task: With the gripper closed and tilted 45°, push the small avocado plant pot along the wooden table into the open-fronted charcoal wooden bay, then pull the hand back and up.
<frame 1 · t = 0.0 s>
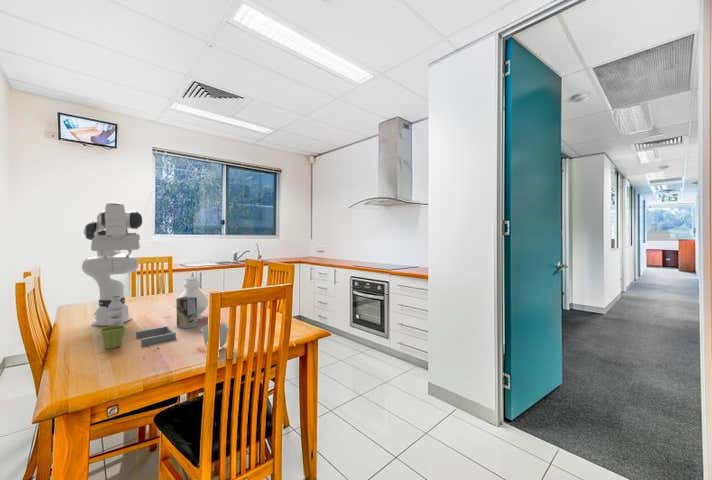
hand: (116, 259, 162), 39 cm above the table, tool pointing down, fingers open, 8 cm apart
coffee box: (186, 326, 175), on the table
decorative vase: (192, 318, 190), on the table
plant pot: (112, 347, 143), on the table
teacup: (214, 348, 143), on the table
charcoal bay: (155, 338, 155), on the table
plastic bottle: (116, 335, 159), on the table
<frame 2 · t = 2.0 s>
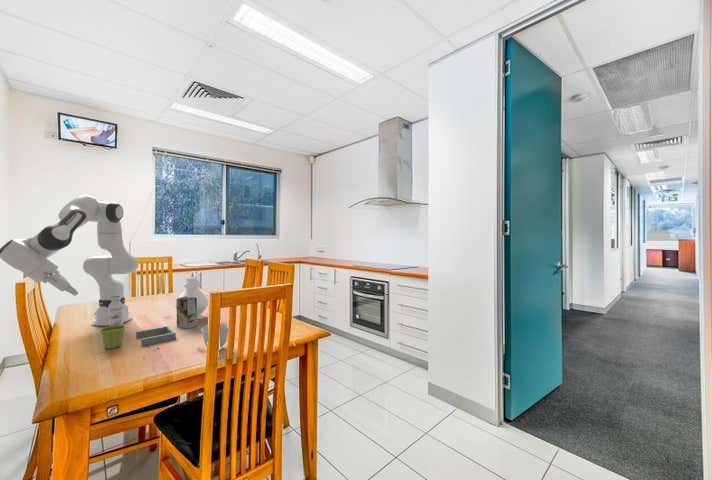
hand: (76, 293, 136), 26 cm above the table, tool tilted 45°, fingers open, 8 cm apart
nothing on the table moved.
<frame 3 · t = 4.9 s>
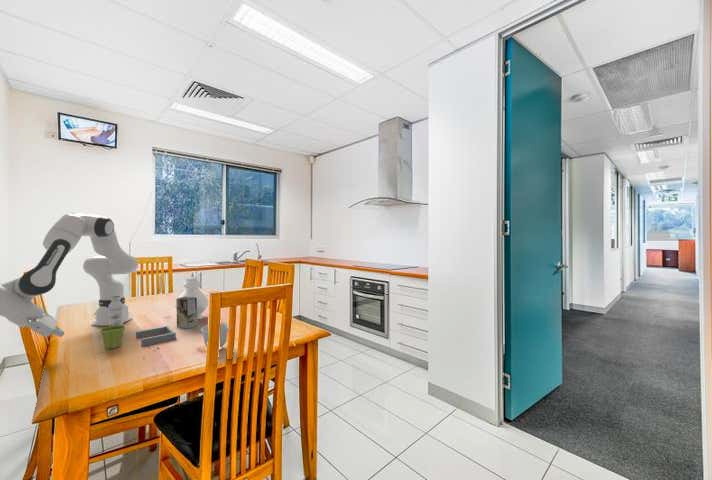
hand: (63, 334, 132), 9 cm above the table, tool tilted 45°, fingers closed
nothing on the table moved.
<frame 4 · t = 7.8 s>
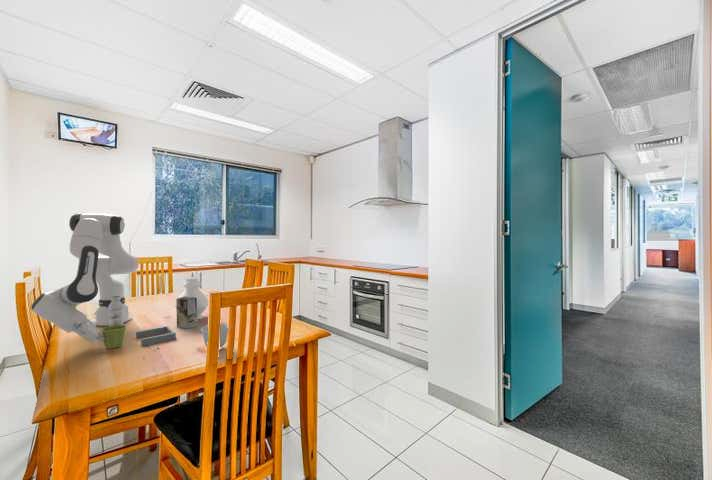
hand: (103, 339, 141), 4 cm above the table, tool tilted 45°, fingers closed, pressing on plant pot
plant pot: (113, 346, 144), on the table, touching gripper
everything else where it was.
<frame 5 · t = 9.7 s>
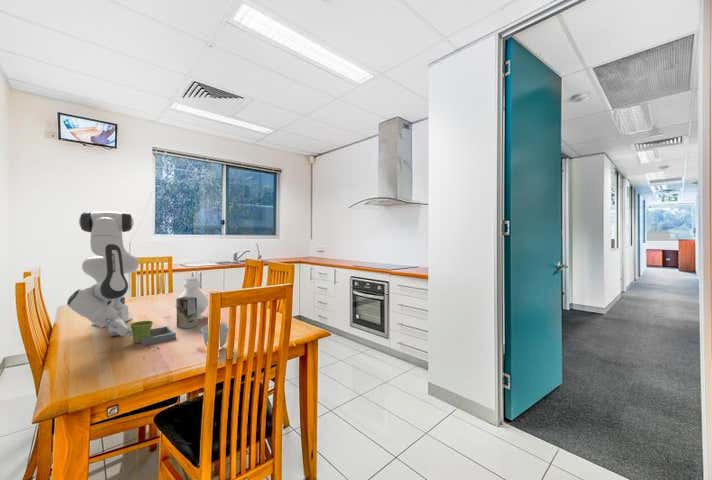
hand: (132, 333, 148), 4 cm above the table, tool tilted 45°, fingers closed, pressing on plant pot
plant pot: (141, 341, 151), on the table, touching gripper
everything else where it was.
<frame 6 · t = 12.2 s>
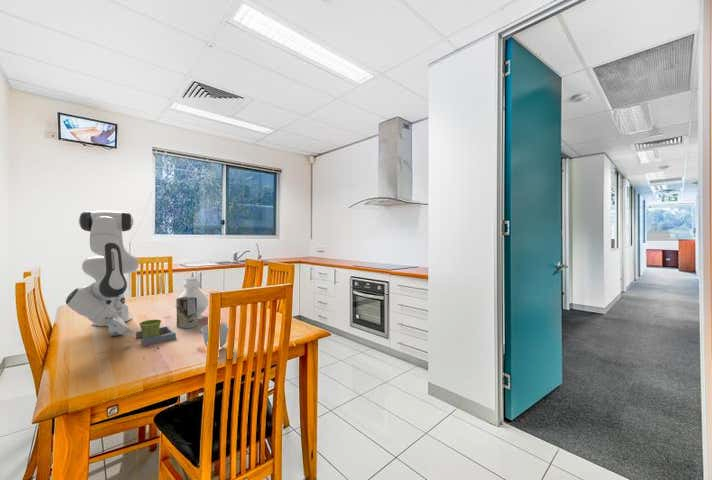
hand: (131, 332, 148), 5 cm above the table, tool tilted 45°, fingers closed
plant pot: (150, 339, 153), resting in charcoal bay
everything else where it was.
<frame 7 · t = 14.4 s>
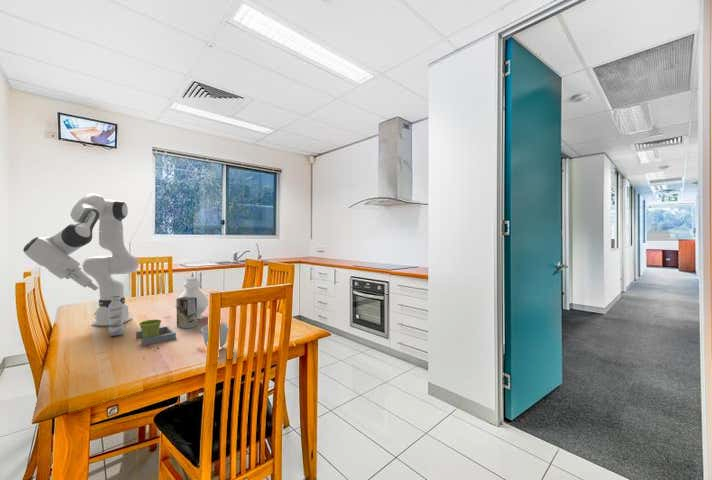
hand: (96, 288, 141), 27 cm above the table, tool tilted 45°, fingers closed
nothing on the table moved.
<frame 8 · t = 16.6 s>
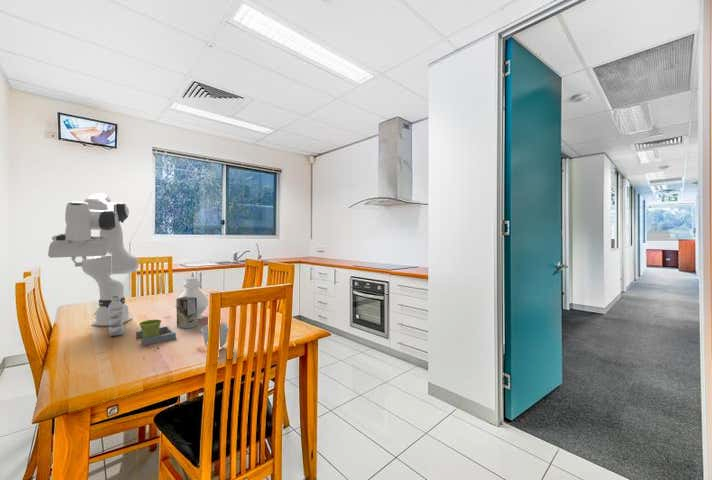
hand: (79, 266, 143), 37 cm above the table, tool pointing down, fingers closed
nothing on the table moved.
at the end: plant pot inside the target area on the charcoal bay (2.3 cm from its centre), point 0.0 cm above the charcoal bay's base; plant pot tilted 0° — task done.
